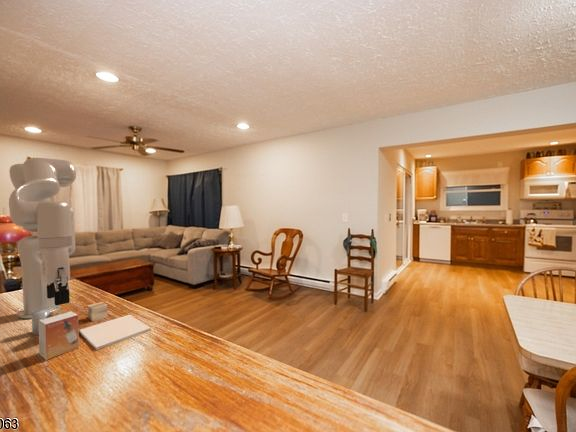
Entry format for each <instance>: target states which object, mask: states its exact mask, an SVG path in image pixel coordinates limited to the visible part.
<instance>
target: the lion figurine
mask: <svg viewBox="0 0 576 432" xmlns="http://www.w3.org/2000/svg"><path fill="white" fill-rule="evenodd" d="M64 313H67V311H66V309H62V308H61V309H60V310H58V311H56V312H55V311H54V312H52V313H50V314H49V315H48V316H47V317H46V318H49V317H53V316H57V315H60V314H64Z"/></svg>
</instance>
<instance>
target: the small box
mask: <svg viewBox="0 0 576 432" xmlns="http://www.w3.org/2000/svg"><path fill="white" fill-rule="evenodd" d="M38 324H39V334H38V349H39V350H38V351H39V352H38V353H39V355H40V356H41V357H42V358H43V359H44V360H46V361H47V360H49V359H52V358H55V357H58V356H60V355H64V354H66V353H68V352H71V351H74V350H78V349H79V348H80V336H79V335H80V332H79V330H80V329H79V326H80V325H79V315H78V314H77V313H75V312H73V311H71V310H70V311H68V312H67V311H66V313H64V314H60V315H57V316H53V317H49V318H46V319H41V320H39V321H38Z"/></svg>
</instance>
